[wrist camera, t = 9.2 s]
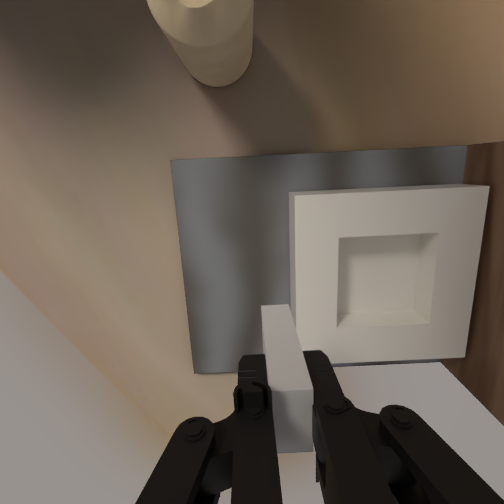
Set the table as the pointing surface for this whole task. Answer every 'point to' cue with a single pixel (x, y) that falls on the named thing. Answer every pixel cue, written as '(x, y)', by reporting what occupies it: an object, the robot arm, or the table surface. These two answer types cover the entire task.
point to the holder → (385, 270)
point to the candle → (208, 36)
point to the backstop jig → (278, 246)
